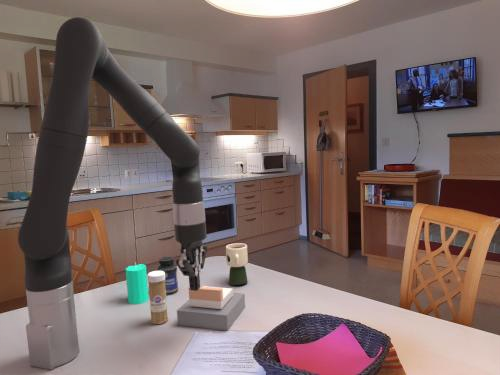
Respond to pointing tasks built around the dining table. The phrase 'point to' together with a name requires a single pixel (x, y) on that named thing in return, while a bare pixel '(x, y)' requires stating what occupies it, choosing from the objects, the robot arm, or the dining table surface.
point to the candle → (137, 284)
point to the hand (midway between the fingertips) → (195, 289)
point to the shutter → (210, 297)
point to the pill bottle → (169, 274)
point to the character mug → (237, 263)
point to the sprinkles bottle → (157, 297)
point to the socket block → (212, 314)
